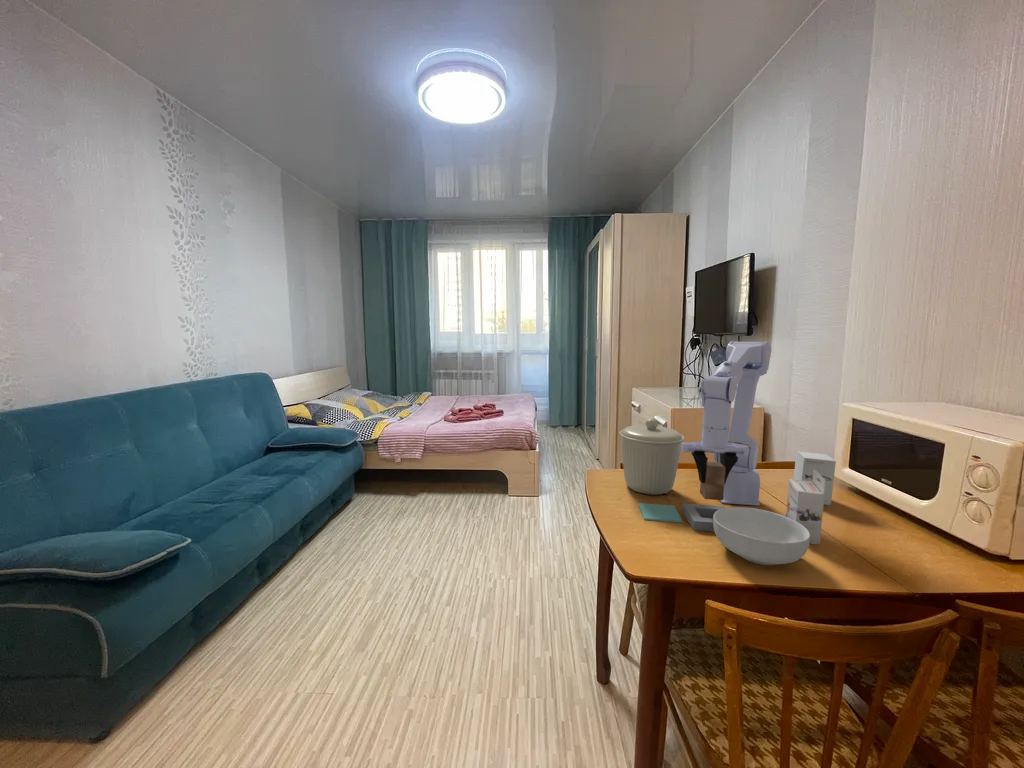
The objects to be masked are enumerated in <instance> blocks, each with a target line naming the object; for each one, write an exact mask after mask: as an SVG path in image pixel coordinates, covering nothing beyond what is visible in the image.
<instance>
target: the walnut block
mask: <svg viewBox="0 0 1024 768" xmlns="http://www.w3.org/2000/svg"><path fill="white" fill-rule="evenodd" d="M724 480H725V467H724V466H723V465H722V464H721V463H720V462H715V461H707V464H706V471H705V483H701V482H700V485H699V487H700V488H699V494H700V495H701V496H702V497H703V498H704V499H705V500H712V501H713V500H714V501H720V500H723V493H724Z"/></svg>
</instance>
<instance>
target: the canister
mask: <svg viewBox="0 0 1024 768" xmlns="http://www.w3.org/2000/svg"><path fill="white" fill-rule="evenodd" d="M644 422H645V424H638V425H637V424H635V425H630V426H629V425H628V426H626V427H624V428H623V429H620V431H619V433H618V434H619V436H621V449H622V450H621V451H622V463H623V466H622V467H623V473H624V474H623V475H624V481H625V484H626V485H627V487H629V489H631V490H633V491H635V492H637V493H641V494H646V495H651V496H652V495H654V496H655V495H656V496H657V495H658V496H659V495H664V494H667V493H669V492H670V491H671V490H672V489H673V487H674V485H675V480H676V476H677V472H678V466H679V461H680V460H679V459H680V454H681V451H682V450H681V444H682V442H684V441H685V439H686V437H685V436H684V435H683V434H681V433H680V431H679V432H678V431H677V430H675V429H673V428H670V427H666V426H659V422H658V420H657V419H655V418H648V419H646V421H644Z"/></svg>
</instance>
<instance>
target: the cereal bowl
mask: <svg viewBox="0 0 1024 768" xmlns="http://www.w3.org/2000/svg"><path fill="white" fill-rule="evenodd" d="M712 518H713V527H714V531H715V532H714V534H715V536H716V537H717V539H718V541H719V542H720V543H721V544H722V545H723V546H724V547H725V548H726V549H727V550H729V551H731V552H733V553H734V554H736V555H737V556H739V557H741V558H742V559H744V560H746V561H749V562H751V563H754V564H756V565H757V564H758V565H762V566H763V565H764V566H775V565H786V564H790V563H794V562H797V561H799V560H801V559H802V558H803V557H804V556H805V555H806V553H807V552H808V550H809V547H810V543H809V542H810V533H809V531H808V530H807V529H806V528H805V527H804V526H803V525H801V524H800V523H798V522H796V521H794V520H792V519H790V518H788V517H786V515H782V514H779V513H776V512H772V511H769V510H764V509H760V508H755V507H754V508H753V507H745V506H730V507H728V506H727V507H725V508H723V509H720V510H718V511H716V512H715V513H714V515H713V517H712Z"/></svg>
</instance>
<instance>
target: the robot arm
mask: <svg viewBox="0 0 1024 768" xmlns="http://www.w3.org/2000/svg"><path fill="white" fill-rule="evenodd" d="M771 348H772V347H771V344H770V343H769V341H734V340H731V341H729V342H728V344H727V346H726V350H725V359H726V360H724V361H723V362H722V363H720V364H719V366H717V368H716V370H714V372H713V374H711V375H708V376H706V377H704V378H703V380H702V383H701V387H700V395H701V406H702V408H703V414H702V415H703V416H702V429H701V441H693V442H684V441H683V442H682V444H681V450H680V451H682V452H683V453H691V455H692V457H693V459H694V463H695V464H696V469H697V472H698V473H697V475H698V481H699V482H700V484H701V483H705V471H706V464H707V462H708V459H709V457H708V456H706V455H707V454H706V453H708V454H713V460H714V462H720V463H721V464H722V465H723V466H724V467H725V480H724V493H723V500H719V502H721V503H722V504H732V505H745V506H746V505H747V506H760V505H761V504H760V502H759V501H760V499H759V497H760V489H761V487H760V486H761V478H760V473H759V471H758V470H756V468H757V465H758V460H759V447H760V446H759V444H758V442H757V440H755V439H754V438H753V437H752V436H751V435H750V434H749V433H750V427H751V423H752V422H751V421H752V415H753V410H754V405H755V399H756V398H755V397H756V392H757V385H758V383H759V380H760V377H762V376H765V375H767V373H768V370H769V368H770V367H769V366H770V361H771V353H772V349H771ZM733 402H734V404H733V409H732V403H733ZM731 410H732V411H731ZM731 413H732V415H731Z"/></svg>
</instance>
